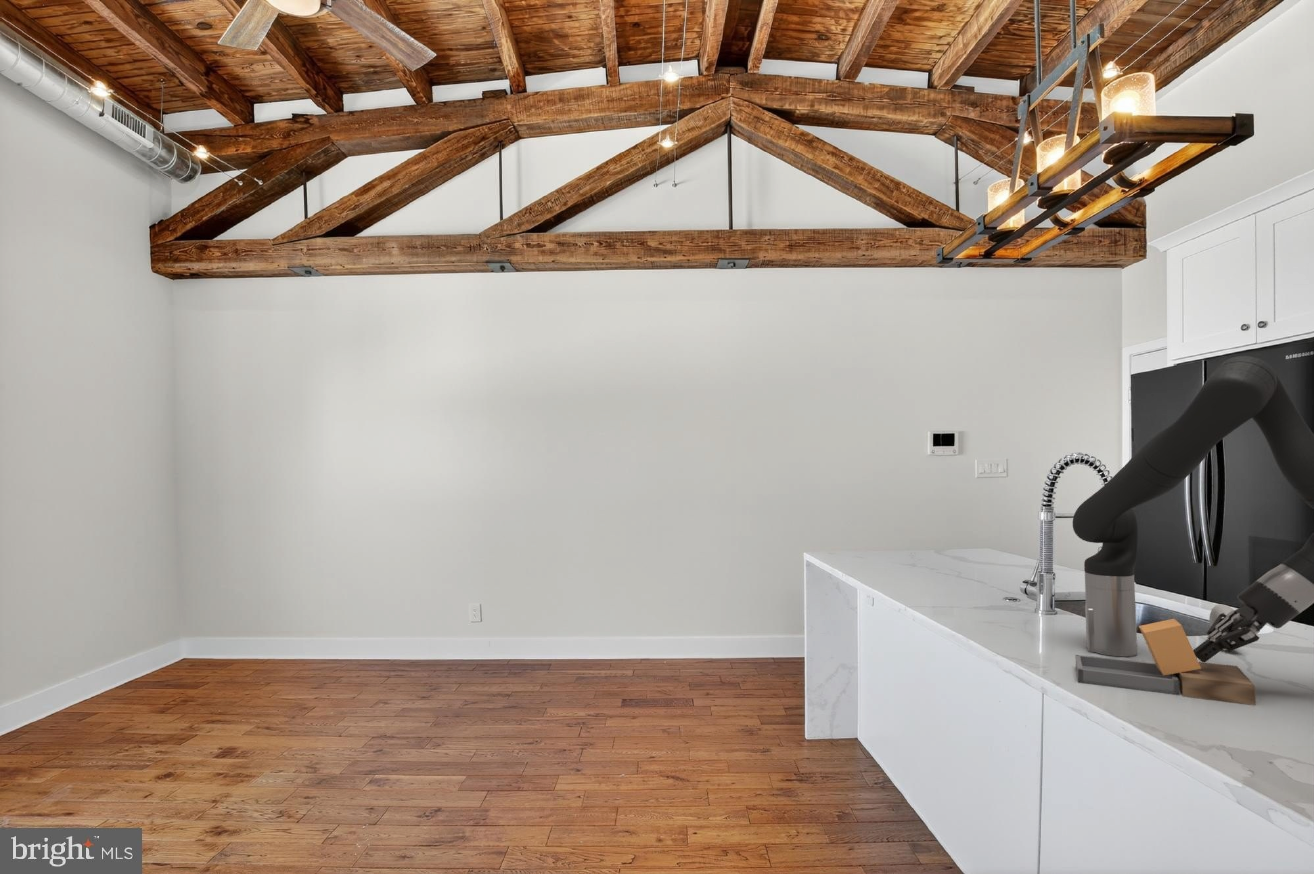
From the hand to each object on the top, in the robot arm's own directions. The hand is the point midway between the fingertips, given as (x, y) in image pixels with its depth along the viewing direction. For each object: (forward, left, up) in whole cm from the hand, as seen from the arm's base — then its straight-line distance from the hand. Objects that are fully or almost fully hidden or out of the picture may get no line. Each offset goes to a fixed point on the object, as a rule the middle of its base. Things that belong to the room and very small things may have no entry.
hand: (1197, 657), depth 125 cm
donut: (+10, +34, -6) cm, 36 cm away
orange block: (-3, 0, -2) cm, 4 cm away
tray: (-11, 0, -6) cm, 13 cm away
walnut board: (+2, 0, -6) cm, 6 cm away
